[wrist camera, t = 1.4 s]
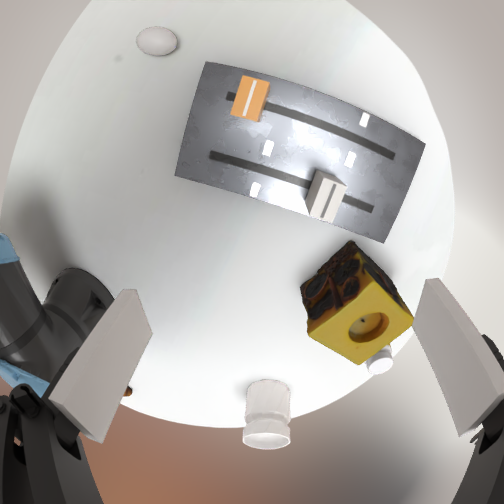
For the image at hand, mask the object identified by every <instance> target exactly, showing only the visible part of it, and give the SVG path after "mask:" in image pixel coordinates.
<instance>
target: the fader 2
mask: <svg viewBox="0 0 504 504" xmlns="http://www.w3.org/2000/svg"><path fill="white" fill-rule="evenodd" d="M346 189H347V186H346V185H345V184H344V183H343V182H342V181H341V180H340V179H338V178H337V177H335V176H332V175H330V174H327V173H324V172H322V171H319V170H317V171H316V173H315V176H314V179H313V181H312V184H311V187H310V189H309V192H308V195H307V197H306V200H305V205H306V207H307V210H308V213H309V215H310V216H313V217H316V218H319V219H322V220H325V221H328V222H330V223H333V220H334V218H335V216H336V213H337V211H338V208H339V206H340V204H341V201H342V199H343V196H344V194H345V191H346Z"/></svg>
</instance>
